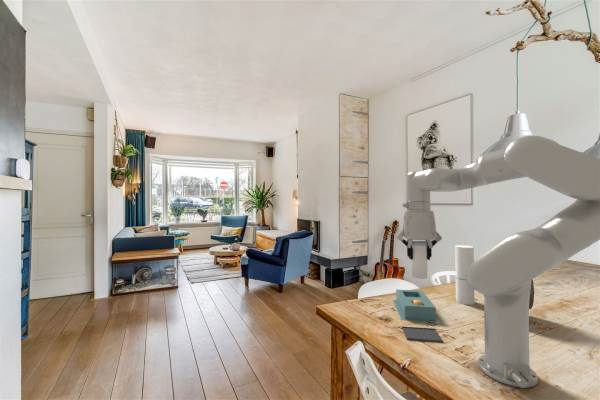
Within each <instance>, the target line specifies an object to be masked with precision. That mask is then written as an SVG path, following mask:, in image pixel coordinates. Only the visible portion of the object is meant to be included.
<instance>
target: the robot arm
mask: <svg viewBox="0 0 600 400" xmlns="http://www.w3.org/2000/svg"><path fill="white" fill-rule="evenodd" d="M522 178H528V179H530V180H532V181H534V182H537V183H538V184H541V185H542V186H545V187H547V188H550V189H551V190H554V191H556V192H558V193H560V194H562V195H565V196H566V197H568V198H569V197H570V198H572V199H575V201H574V202H572V204H570V205H569V206H567V207H565V208H563V209H562V210H561V211H559V212H558V213H556V214H555V215H554V216H552V217H551V218H550V219H548V220H546V221H545V222H544V223H542V224H540V225H538V226H537V227H534V228H532V229H528V230H522V231H519V232H515V233H513V234H511V235H509V236H507V237H506V238H504V239H502V240H501V241H500V242H498V243H497V244H496V245H493V247H491V248H490V249H489V250H488V251H485V252H484V253H483V254H482V255H481V256H479V257H477V258H476V259H474V262H473V263H472V264H471V265H470V267H469V269H468V280H469V282H470V284H471V286H472V287H473V288H474V291H476V292H477V293H479V294H481V295H483V296H484V295H485V298H484V300H483V301H484V303H483V306H484V307H483V308H484V309H483V311H484V312H483V317H484V319H483V320H484V321H483V322H484V323H483V325H484V328H483V330H484V331H483V332H484V333H483V334H484V355H481V356H480V357H478V358H477V359H478V360H477V364H478V367H479V369H480V370H481V371H482V372H483V373H484V374H486V375H487V376H488V377H490V378H491V379H493V380H495V381H497V382H500V383H502V384H505V385H507V386H511V387H517V388H521V389H525V388H532V387H533V388H534V387H535V386H537V384H538V382H539V376H538V375H537V373H536V372H535V370H533V369H532V368H531V367H530V366H531V364H530V309H529V297H530V289H531V281H532V280H533V279H535V278H536V277H538V276H541V275H542V274H545V273H546V272H548V271H550V270H553V269H555V268H558V267H559V266H561V265H562V264H563V263H564V262H566V261H567V260H568V259H570V258H571V257H573V256H575V255H577V254H578V253H580V252H582V251H583V250H585V249H588V248H589V247H591V246H592V245H593V244H595V243H597V242H598V241H600V158H599V157H596V156H594V155H591V154H587V153H584V152H582V151H578V150H577V149H576V150H575V149H573V148H570V147H568V146H564V145H562V144H559V143H558V142H557V141H555V140H553V139H551V138H547V137H544V136H540V135H534V134H532V135H531V134H530V135H524V136H522V137H518V138H516V139H515V140H513V141H512V142H511V143H510V144H508V146H507V147H506V148H505V147H504V148H502V149H497V150H493V151H490V152H486V153H483V154H481V155H480V156H479V157H478V159H477V161H475V162H474V163H471V164H469V165H464V166H460V167H456V168H440V167H432V168H428V169H425V170H415V171H410V172H408V173H407V174H406V202H405V203H402V208H405V209H406V210H404V213H403V214H404V215H403V222H402V223H403V224H402V230H401V231H400V232H399V233H398V235H396V239H397V240H399V241H400V242H401V243H402V244H404V245H405V247H406V255H407V257H408V259H409V260H412V259H413V248H412V246H411V245H412V242H413V240H421V241H427V261H430V260H431V258H432V249H433V247H435V246H436V245H437V243H438V242H441V241H442V239H443V238H442V236H441V235H440V233H439V232H438V231H437V226H436V218H435V213H434V212H435V211H434V210H432V209H431V208H432V207H431V192H433V193H435V192H439V193H440V192H443V193H444V192H445V193H446V192H447V193H448V192H449V193H451V192H457V191H463V190H464V191H465V190H468V189H474V188H478V187H482V186H489V185H490V184H495V183H501V182H506V181H511V180H515V179H522ZM403 237H404V238H403ZM406 239H407V240H406Z"/></svg>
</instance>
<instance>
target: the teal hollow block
mask: <svg viewBox="0 0 600 400" xmlns="http://www.w3.org/2000/svg"><path fill="white" fill-rule="evenodd" d="M395 298H396V299H392V302H393V305H394V306H395V309H396V311H397V313H398V315H399V318H400V320H401V321H415V322H427V323H429V322H432V323H441V320H440V319H439V317H438V316H437V313H436V311H437V310H436V309H437V308H436V306H435V305H434V303H433V302H432V301H431V300H430V298H429V297H428V296H427V295H426V294H425V292H424V291H423V290H420V289H419V290H418V289H417V290H416V289H415V290H414V289H397V288H396V289H395ZM413 300H421V301H422V305H413Z"/></svg>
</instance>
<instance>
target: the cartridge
mask: <svg viewBox="0 0 600 400" xmlns="http://www.w3.org/2000/svg"><path fill="white" fill-rule="evenodd" d="M411 246H412V248H413V259H412V260H411V259H410V260H411V278H413V279H420V280H421V279H422V280H425V279H428V259H427V241H425V240H413V242H412V245H411Z"/></svg>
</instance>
